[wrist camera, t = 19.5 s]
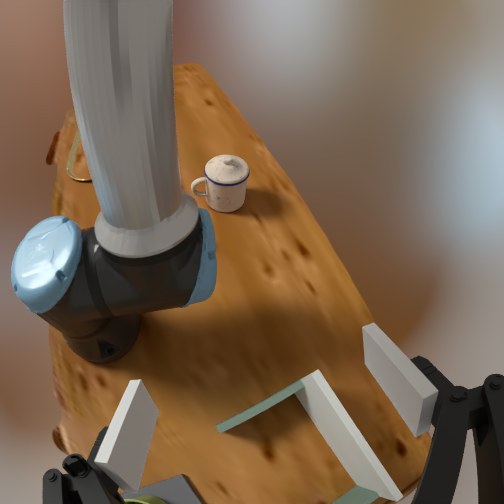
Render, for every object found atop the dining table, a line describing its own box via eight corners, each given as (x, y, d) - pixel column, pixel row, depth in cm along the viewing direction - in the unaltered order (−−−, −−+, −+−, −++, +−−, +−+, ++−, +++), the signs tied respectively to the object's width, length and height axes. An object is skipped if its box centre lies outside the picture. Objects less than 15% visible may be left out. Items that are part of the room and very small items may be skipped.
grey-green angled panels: (292, 532, 28) (314, 559, 18) (216, 424, 38) (214, 427, 28) (365, 485, 33) (403, 496, 23) (295, 381, 43) (318, 369, 33)
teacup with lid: (238, 181, 67) (242, 142, 57) (251, 209, 62) (257, 169, 53) (188, 191, 63) (185, 150, 54) (197, 220, 59) (194, 179, 49)
